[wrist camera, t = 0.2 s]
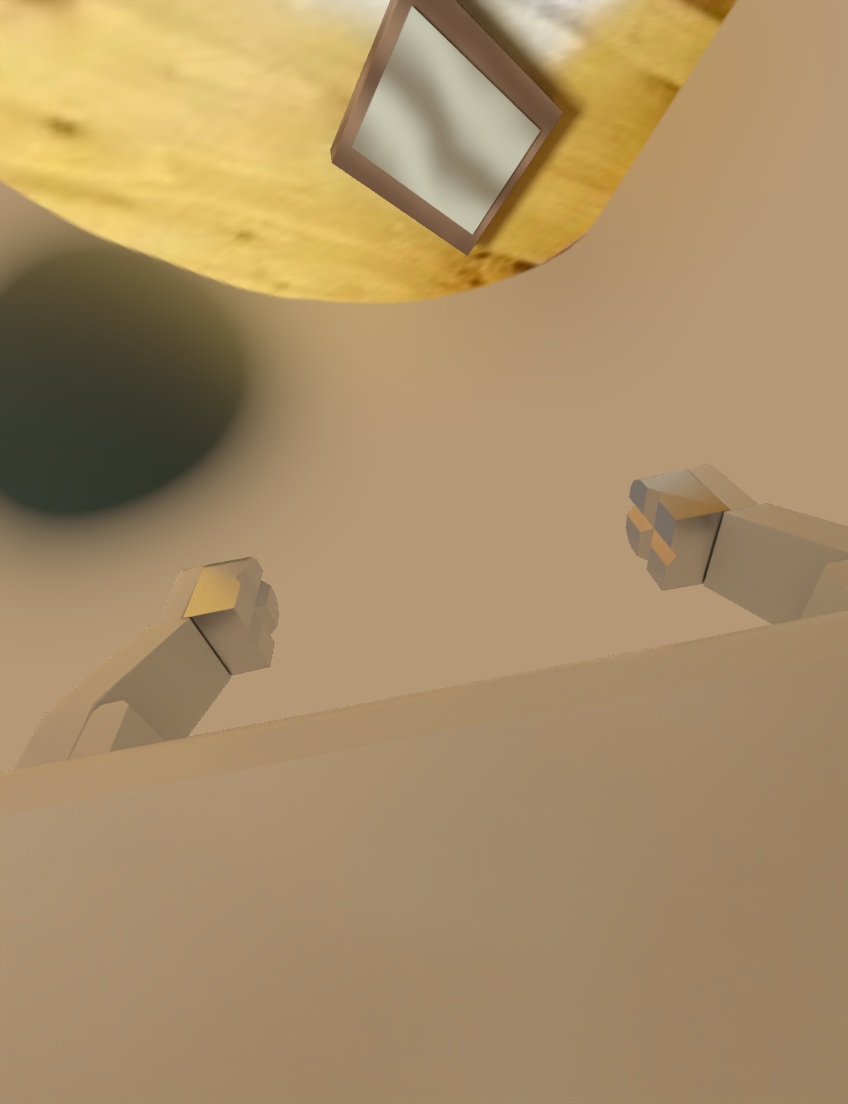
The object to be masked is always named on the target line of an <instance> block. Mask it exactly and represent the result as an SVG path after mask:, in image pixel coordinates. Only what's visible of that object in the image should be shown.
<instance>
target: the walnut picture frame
mask: <svg viewBox="0 0 848 1104" xmlns="http://www.w3.org/2000/svg"><path fill="white" fill-rule="evenodd" d="M562 114H563V112H562V111H561V110H560V108H559V107H558V106H557V105H556V104H555V103H554V101H553V100H552V99H551V98H550V97H549V96H548V95H547V94H546V93H545V92H544V91H543V90H542V89H541V88H540V87H539V86H538V85H537V84H536V83H535V82H534V81H533V80H532V79H531V78H530V76H529V75H528V74H527V73H526V72H525V71H524V70H523V69H522V68H521V67H520V66H519V65H518V64H517V63H516V62H515V61H514V60H513V59H512V58H511V57H510V56H509V55H508V54H507V53H506V52H505V50H504V49H503V48H502V47H501V46H500V45H499V44H498V43H497V42H496V41H495V40H494V39H493V38H492V37H491V36H490V35H489V34H488V33H487V32H486V31H485V30H484V29H483V28H482V27H481V26H480V24H479V23H478V22H477V21H476V20H475V19H474V18H473V17H472V16H471V15H470V14H469V13H468V12H467V11H466V10H465V9H464V8H463V7H462V6H461V5H460V4H459V3H458V2H457V1H456V0H390V3H389V5H388V8H387V10H386V13H385V15H384V18H383V20H382V23H381V25H380V28H379V30H378V33H377V35H376V38H375V40H374V43H373V45H372V48H371V50H370V52H369V55H368V57H367V60H366V62H365V65H364V67H363V70H362V72H361V75H360V77H359V80H358V82H357V85H356V87H355V90H354V92H353V95H352V97H351V100H350V102H349V105H348V107H347V110H346V112H345V115H344V117H343V120H342V122H341V125H340V127H339V130H338V132H337V135H336V137H335V140H334V142H333V145H332V147H331V150H330V151H331V160H332V163H333V164H334V165H336V166H337V167H339V168H340V169H342V170H343V171H345V172H346V173H348V174H349V175H350V176H352V177H353V178H355V179H356V180H358V181H359V182H361V183H362V184H364V185H365V186H366V187H368V188H369V189H371V190H372V191H374V192H375V193H377V194H378V195H380V196H381V197H383V198H384V199H385V200H387V201H388V202H390V203H391V204H393V205H394V206H396V207H397V208H399V209H400V210H401V211H403V212H404V213H406V214H407V215H409V216H410V217H412V218H413V219H415V220H416V221H418V222H419V223H420V224H422V225H423V226H425V227H426V228H428V229H429V230H431V231H432V232H434V233H435V234H436V235H438V236H439V237H441V238H442V239H444V240H445V241H447V242H448V243H450V244H451V245H453V246H454V247H455V248H457V249H458V250H460V251H461V252H463V253H464V254H466V255H467V256H468V254H469V253H470V251H471V250H472V248H473V247H474V245H475V244H476V242H477V241H478V239H479V238H480V236H481V235H482V233H483V232H484V230H485V229H486V227H487V226H488V224H489V223H490V221H491V220H492V218H493V217H494V215H495V214H496V212H497V211H498V210H499V208H500V207H501V205H502V204H503V202H504V201H505V199H506V198H507V196H508V195H509V193H510V192H511V190H512V189H513V187H514V186H515V184H516V183H517V181H518V180H519V178H520V177H521V175H522V174H523V172H524V171H525V169H526V168H527V166H528V165H529V163H530V162H531V160H532V159H533V157H534V156H535V154H536V153H537V151H538V150H539V148H540V147H541V145H542V144H543V142H544V141H545V139H546V138H547V136H548V135H549V133H550V132H551V130H552V129H553V127H554V126H555V124H556V123H557V121H558V120H559V118H560V117H561V115H562Z"/></svg>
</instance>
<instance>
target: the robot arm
mask: <svg viewBox="0 0 848 1104" xmlns="http://www.w3.org/2000/svg"><path fill="white" fill-rule="evenodd" d="M629 497H630V499H631V500H632V501H633V503H634V504H635V505H634V507H633V508H632V509H631V511H630V512H629V513H628V514H627V521H626V530H627V536H628V540H629V543H630V545H631V547H632V549H633V550H634V552H635V553H636V555H637V556H639V557H641V558H643V559H646V560H648V564H647V570H648V572H649V573H650V575H651V576H652V577H653V579H654V580H655V581H656V583H657V584H658V586H659V587H660V589H661V590H669V589H674V588H681V587H687V586H692V585H698V584H704V586H705V587H707V588H709V589H711V590H712V591H714V592H716V593H718V594H720V595H721V596H723V597H725V598H727V599H728V600H730V601H732V602H734V603H736V604H737V605H739V606H741V607H743V608H744V609H746V610H748V611H750V612H752V613H753V614H755V615H757V616H759V617H760V618H762V619H764V620H766V621H767V622H769V623H771V624H773V625H769V626H763V627H758V628H753V629H749V630H743V631H738V632H732V633H727V634H722V635H717V636H712V637H707V638H702V639H696V640H692V641H686V642H681V643H676V644H670V645H665V646H660V647H655V648H650V649H644V650H639V651H634V652H628V653H623V654H618V655H613V656H607V657H603V658H597V659H592V660H587V661H581V662H576V663H571V664H565V665H560V666H555V667H550V668H545V669H539V670H534V671H529V672H523V673H518V674H513V675H508V676H503V677H498V678H492V679H487V680H482V681H477V682H472V683H466V684H462V685H456V686H451V687H446V688H440V689H436V690H430V691H425V692H420V693H415V694H409V695H404V696H399V697H394V698H389V699H383V700H379V701H373V702H368V703H363V704H357V705H352V706H347V707H342V708H336V709H331V710H326V711H321V712H316V713H310V714H305V715H300V716H295V717H290V718H284V719H279V720H274V721H269V722H264V723H259V724H253V725H248V726H243V727H237V728H232V729H228V730H222V731H217V732H212V733H206V734H202V735H196V736H191V737H188V736H189V734H190V733H191V731H192V730H193V729H194V727H195V726H196V725H197V723H198V722H199V721H200V719H201V718H202V717H203V715H204V714H205V713H206V711H207V710H208V709H209V707H210V706H211V705H212V703H213V702H214V701H215V699H216V698H217V696H218V695H219V694H220V693H221V691H222V690H223V688H224V687H225V686H226V684H227V683H228V682H229V680H230V679H231V676H232V675H236V674H241V673H245V672H250V671H254V670H259V669H263V668H268V667H270V665H271V659H272V654H273V648H274V640H273V639H272V637H271V635H270V634H271V633H272V632H273V631H274V630H275V628H276V627H277V625H278V619H279V612H278V603H277V599H276V596H275V593H274V591H273V589H272V587H271V586H270V585H269V584H267V583H265V582H263V581H262V580H261V576H262V572H263V570H262V568H261V566H260V565H259V563H258V561H257V560H256V559H255V558H253V557H247V558H242V559H236V560H231V561H225V562H219V563H214V564H208V565H203V566H198V567H193V568H188V569H184V570H183V571H181V572H179V574H178V577H177V579H176V581H175V584H174V586H173V588H172V590H171V592H170V594H169V597H168V599H167V601H166V603H165V606H164V608H163V610H162V612H161V615H160V617H159V619H158V621H157V624H155V625H151V626H148V627H147V628H146V629H145V630H143V631H142V632H141V633H140V634H139V635H138V636H136V637H135V638H134V639H133V640H132V641H130V643H128V644H127V645H126V646H125V647H124V648H122V649H121V650H120V651H119V652H118V653H116V654H115V655H114V656H113V657H112V658H110V659H109V660H108V661H107V662H106V663H104V664H103V665H102V666H101V667H100V668H99V669H97V670H96V671H95V672H94V673H93V674H92V675H90V676H89V677H88V678H87V679H86V680H84V682H82V683H81V684H80V685H79V686H77V687H76V688H75V689H74V690H73V691H72V692H70V693H69V694H68V695H67V696H66V697H65V698H63V699H62V700H61V701H60V702H58V703H57V704H56V705H55V706H54V707H53V708H51V709H50V710H49V711H48V712H47V713H46V714H45V715H44V717H43V719H42V720H41V722H40V724H39V726H38V728H37V729H36V731H35V733H34V734H33V736H32V738H31V740H30V741H29V743H28V745H27V747H26V749H25V750H24V752H23V754H22V755H21V757H20V759H19V761H18V762H17V764H16V766H15V768H14V769H13V771H8V772H3V773H0V1104H848V526H844V525H841V524H837V523H834V522H830V521H827V520H824V519H820V518H817V517H813V516H810V515H806V514H803V513H799V512H796V511H792V510H789V509H785V508H782V507H779V506H775V505H772V504H768V503H766V504H760V505H759V504H758V503H757V502H755V501H754V500H753V499H752V498H751V497H749V496H748V495H747V494H746V493H745V492H744V491H742V490H741V489H740V488H739V487H738V486H737V485H735V484H734V483H733V482H732V481H730V480H729V479H728V478H727V477H726V476H725V475H724V474H722V473H721V472H720V471H719V470H718V469H716V468H715V467H714V466H712V465H708V464H704V465H700V466H695V467H692V468H687V469H683V470H681V471H676V472H672V473H667V474H662V475H657V476H653V477H648V478H643V479H638V480H634V481H633V483H632V485H631V488H630V495H629Z"/></svg>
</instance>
